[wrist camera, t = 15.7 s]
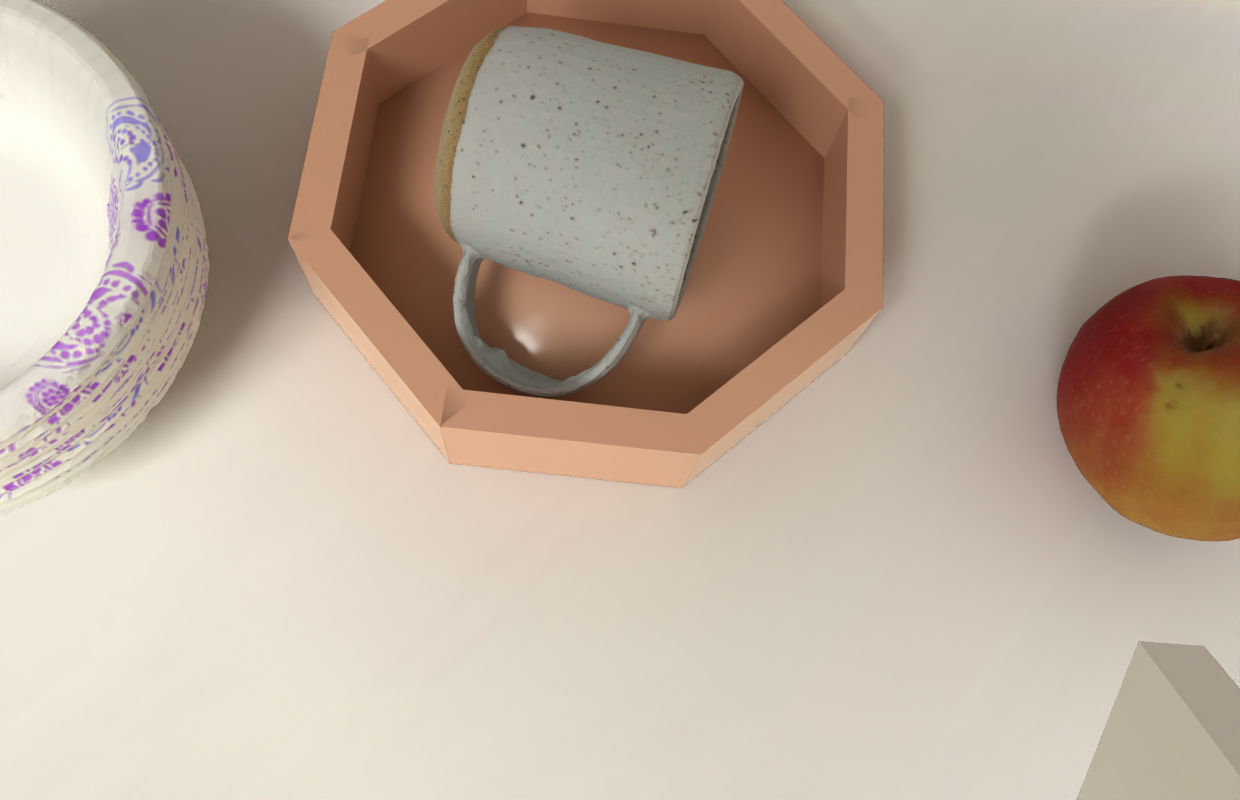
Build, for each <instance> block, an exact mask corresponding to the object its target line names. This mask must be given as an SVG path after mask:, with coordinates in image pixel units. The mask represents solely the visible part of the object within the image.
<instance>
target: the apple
mask: <svg viewBox="0 0 1240 800" xmlns="http://www.w3.org/2000/svg"><path fill="white" fill-rule="evenodd" d="M1057 412H1058V418H1059V423H1060V428H1061V432H1062V434H1063V437H1064V440H1065V443H1066V446H1067V448H1068V451H1069V452H1070V454H1071V456H1072V458H1073V460H1074V461H1075V463H1076V465H1077V467H1078V469H1079V470H1080V472H1081V473H1082V475H1083V476H1084V477H1085V478H1086V480H1087V481H1088V482H1089V483H1090V484H1091V485H1092V486H1093V487H1094V489H1095V490H1096V491H1097V492H1098V493H1099V494H1100V495H1101V497H1102V498H1103V499H1104V500H1105V501H1106V502H1107V503H1108V504H1109V505H1110V506H1111V507H1112V508H1113V509H1114V510H1116V511H1117V512H1118V513H1119V514H1121V515H1122V516H1124V517H1126V518H1127V519H1129V520H1131V521H1133V522H1135V523H1138V524H1140V525H1142V526H1144V527H1147V528H1149V529H1152V530H1154V531H1157V532H1160V533H1163V534H1166V535H1170V536H1174V537H1179V538H1185V539H1192V540H1200V541H1228V540H1233V539H1237V538H1240V281H1237V280H1232V279H1226V278H1215V277H1206V276H1170V277H1162V278H1157V279H1153V280H1150V281H1147V282H1144V283H1142V284H1139V285H1137V286H1134V287H1132V288H1130V289H1128V290H1126V291H1124V292H1122V293H1121V294H1119V295H1117V296H1116V297H1114V298H1113V299H1112V300H1110V301H1109V302H1108V303H1106V304H1105V305H1104V306H1103V307H1102V308H1100V309H1099V310H1098V311H1097V312H1096V313H1095V314H1094V315H1093V316H1091V317H1090V318H1089V319H1088V320H1087V321H1086V322H1085V323H1084V324H1083V325H1082V327H1081V328H1080V330H1079V331H1078V333H1077V335H1076V337H1075V339H1074V341H1073V343H1072V345H1071V347H1070V349H1069V351H1068V353H1067V356H1066V358H1065V361H1064V363H1063V366H1062V370H1061V373H1060V378H1059V383H1058V390H1057Z"/></svg>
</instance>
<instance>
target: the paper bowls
mask: <svg viewBox="0 0 1240 800" xmlns="http://www.w3.org/2000/svg"><path fill="white" fill-rule="evenodd" d="M206 235H207V233H206V228H205V224H204V219H203V214H202V209H201V206H200V201H199V199H198V197H197V194H196V191H195V188H194V185H193V183H192V180H191V178H190V176H189V174H188V172H187V170H186V168H185V166H184V164H183V162H182V161H181V159H180V158H179V156H178V155H177V153H176V151H175V149H174V147H173V145H172V143H171V141H170V139H169V137H168V135H167V133H166V131H165V129H164V127H163V125H162V124H161V122H160V120H159V118H158V117H157V116H156V114H155V113H154V111H153V109H152V107H151V105H150V103H149V101H148V99H147V97H146V95H145V92H144V90H143V89H142V88H141V87H140V85H139V84H138V82H137V81H136V79H135V78H134V76H133V75H132V74H131V73H130V72H129V71H128V70H127V69H126V68H125V67H124V65H123V63H122V62H121V61H120V60H119V59H118V58H117V57H116V56H115V55H114V54H112V52H111V51H110V50H109V49H108V48H107V47H106V46H105V45H104V44H103V43H102V42H101V41H100V40H98V39H97V38H96V37H95V36H94V35H93V34H92V33H90V32H89V31H87V30H86V29H85V28H84V27H82V26H81V25H79V24H78V23H76V22H75V21H73V20H72V19H70V18H68V17H66V16H65V15H63V14H61V13H59V12H58V11H56V10H54V9H52V8H51V7H49V6H47V5H45V4H43V3H41V2H39V1H37V0H0V515H4V514H6V513H9V512H11V511H13V510H14V509H17V508H20V507H22V506H24V505H26V504H29V503H31V502H33V501H35V500H38V499H40V498H43V497H45V496H48V495H50V494H51V493H53V492H55V491H57V490H59V489H61V488H62V487H64V486H65V485H67V484H68V483H70V482H71V481H72V480H74V479H75V478H77V477H79V476H80V475H81V474H82V473H83V472H84V471H86V470H87V469H89V468H90V467H91V466H93V465H94V464H95V463H97V462H98V461H99V460H101V459H102V458H104V457H105V456H106V455H108V454H109V453H110V452H111V451H113V450H114V449H115V448H117V447H118V446H119V445H120V444H121V443H123V442H124V441H125V440H126V439H127V438H128V437H129V436H130V435H131V434H132V432H133V431H134V430H135V429H136V428H137V427H138V425H139V424H141V423H142V422H143V421H144V420H145V419H146V417H147V416H148V415H147V414H148V412H149V411H150V410H151V408H153V407H154V406H156V405H157V404H158V403H159V402H160V401H161V399H162V398H163V397H164V395H165V394H166V392H167V391H168V389H169V387H170V386H171V384H172V383H173V382H174V380H175V377H176V375H177V373H178V372H179V370H180V369H181V368H182V366H183V364H184V362H185V360H186V358H187V356H188V353H189V351H190V349H191V347H192V345H193V342H194V339H195V337H196V334H197V332H198V330H199V327H200V322H201V316H202V312H203V309H204V305H205V301H206V292H207V289H208V273H209V258H208V253H209V247H208V244H207V241H206Z"/></svg>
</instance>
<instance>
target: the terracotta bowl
mask: <svg viewBox="0 0 1240 800" xmlns="http://www.w3.org/2000/svg"><path fill="white" fill-rule="evenodd" d="M503 26H519V27H535V28H548V29H553V30H558V31H562V32H566V33H570V34H574V35H579V36H582V37H585V38H589V39H592V40H595V41H599V42H603V43H608V44H612V45H617V46H622V47H626V48H631V49H636V50H641V51H645V52H649V53H653V54H658V55H662V56H666V57H670V58H674V59H678V60H682V61H686V62H690V63H694V64H699V65H703V66H708V67H713V68H718V69H723V70H728V71H732V72H734V73H735V74H737V75H739V76H740V77H741V78H742V80H743V83H744V85H743V89H742V95H741V100H740V103H739V107H738V113H737V116H736V120H735V125H734V127H733V132H732V137H731V141H730V144H729V147H728V151H727V156H726V161H725V164H724V167H723V170H722V173H721V176H720V180H719V184H718V187H717V191H716V194H715V197H714V200H713V203H712V207H711V210H710V214H709V218H708V221H707V223H706V227H705V232H704V235H703V237H702V239H701V243H700V246H699V249H698V253H697V256H696V259H695V262H694V265H693V268H692V271H691V273H690V275H689V278H688V281H687V284H686V289H685V293H684V295H683V297H682V300H681V303H680V305H679V308H678V311H677V312H676V314H675V316H674V318H673V319H672V320H669V321H664V320H659V319H655V318H652V317H649V318H648V319H647V320H646V321H645V322H644V324H643V326H642V328H641V331H640V333H639V335H638V336H637V338H636V339H635V341H634V342H633V344H632V345H631V347H630V348H629V350H628V352H627V353H626V354H625V356H624V357H623V358H622V360H621V361H620V362H619V364H618V365H617V366H616V367H615V368H614V369H613V370H612V371H611V372H610V373H609V374H607V375H606V376H605V377H604V378H602V379H601V380H600V381H598V382H597V383H595V384H593V385H592V386H590V387H588V388H586V389H584V390H582V391H579V392H577V393H575V394H572V395H567V396H563V397H557V398H539V397H534V396H529V395H525V394H522V393H520V392H517V391H515V390H512V389H510V388H507V387H505V386H504V385H502V384H501V383H499V382H498V381H496V380H494V379H492V378H490V377H489V376H488V375H487V374H485V373H484V372H482V371H481V370H480V369H479V367H478V366H477V365H476V364H475V363H474V361H473V360H472V359H471V357H470V356H469V355H468V353H467V352H466V350H465V348H464V345H463V343H462V341H461V339H460V337H459V334H458V332H457V329H456V325H455V320H454V307H453V295H454V288H455V277H456V275H457V271H458V267H459V263H460V261H461V259H462V257H463V251H462V247H461V245H459V244H458V243H457V242H455V241H454V240H453V239H451V238H450V237H449V235H448V234H447V233H446V231H445V230H444V228H443V226H442V223H441V221H440V219H439V217H438V214H437V211H436V205H435V197H434V175H435V166H436V158H437V153H438V148H439V142H440V136H441V130H442V125H443V121H444V118H445V115H446V111H447V108H448V104H449V101H450V98H451V95H452V92H453V89H454V86H455V83H456V80H457V78H458V75H459V73H460V71H461V69H462V67H463V65H464V62H465V61H466V59H467V57H468V56H469V54H470V52H471V51H472V49H473V48H474V46H475V45H476V44H478V43H479V42H480V41H481V40H482V39H483V38H484V37H485V36H486V35H487V34H488V33H490V32H491V31H493V30H495V29H498V28H500V27H503ZM288 240H289V243H290V245H291V247H292V249H293V251H294V253H295V255H296V257H297V260H298V262H299V264H300V266H301V268H302V270H303V272H304V275H305V277H306V279H307V281H308V283H309V285H310V287H311V289H312V292H313V294H314V295H315V297H316V298H317V299H318V300H319V301H320V303H321V304H322V305H323V306H324V308H325V309H326V310H327V311H328V313H329V314H330V315H331V316H332V318H333V319H334V320H335V321H336V323H337V324H338V325H339V326H340V328H341V329H342V330H343V331H344V333H345V334H346V335H347V336H348V337H349V339H350V340H351V341H352V342H353V344H354V345H355V346H356V347H357V349H358V350H359V351H360V352H361V354H362V355H363V356H364V357H365V359H366V360H367V361H368V362H369V364H370V365H371V366H372V367H373V369H374V370H375V371H376V372H377V373H378V375H379V376H380V377H381V378H382V380H383V381H384V382H385V383H386V385H387V386H388V387H389V388H390V390H391V391H392V392H393V393H394V395H395V396H396V397H397V398H398V400H399V401H400V402H401V403H402V404H403V406H404V407H405V408H406V409H407V411H408V412H409V413H410V414H411V416H412V417H413V418H414V419H415V421H416V422H417V423H418V424H419V426H420V427H421V428H422V429H423V431H424V432H425V433H426V434H427V436H428V437H429V438H430V439H431V440H432V442H433V443H434V444H435V445H436V447H437V448H438V449H439V450H440V452H441V453H442V454H443V455H444V457H445V458H446V459H447V460H448V462H449V463H450V464H460V465H469V466H479V467H488V468H497V469H507V470H516V471H526V472H535V473H544V474H554V475H563V476H573V477H582V478H592V479H601V480H610V481H620V482H629V483H639V484H648V485H657V486H667V487H676V488H683V487H684V486H685V485H687V484H688V483H689V482H690V481H691V480H693V479H694V478H695V477H696V476H698V475H699V474H700V473H701V472H703V471H704V470H705V469H706V468H707V467H709V466H710V465H711V464H712V463H714V462H715V461H716V460H717V459H718V458H720V457H721V456H722V455H723V454H725V453H726V452H727V451H728V450H729V449H731V448H732V447H733V446H734V445H736V444H737V443H738V442H739V441H741V440H742V439H743V438H744V437H745V436H747V435H748V434H749V433H750V432H752V431H753V430H754V429H755V428H756V427H758V426H759V425H760V424H761V423H763V422H764V421H765V420H766V419H767V418H769V417H770V416H771V415H772V414H774V413H775V412H776V411H777V410H779V409H780V408H781V407H782V406H783V405H785V404H786V403H787V402H788V401H790V400H791V399H792V398H793V397H794V396H796V395H797V394H798V393H799V392H801V391H802V390H803V389H804V388H805V387H807V386H808V385H809V384H810V383H812V382H813V381H814V380H815V379H817V378H818V377H819V376H820V375H821V374H823V373H824V372H825V371H826V370H828V369H829V368H830V367H831V366H832V365H834V364H835V363H836V362H837V361H839V360H840V359H841V358H842V357H843V356H845V355H846V354H847V352H848V351H849V350H850V349H851V347H852V346H853V345H854V343H855V342H856V341H857V340H858V338H859V337H860V336H861V335H862V333H863V332H864V331H865V329H866V328H867V327H868V326H869V324H870V323H871V322H872V321H873V319H874V318H875V317H876V315H877V314H878V313H879V312H880V310H881V309H882V308H883V100H882V99H881V98H880V97H879V96H878V95H877V94H876V93H875V92H874V91H873V90H872V89H871V88H870V87H869V86H868V85H867V84H866V83H865V82H863V81H862V80H861V79H860V78H859V77H858V76H857V75H856V74H855V73H854V72H853V71H852V70H851V69H850V68H849V67H848V66H847V65H846V64H845V63H844V62H843V61H842V60H841V59H840V58H839V57H838V56H837V55H836V54H835V53H834V52H833V51H832V50H831V49H830V48H829V47H828V46H827V45H826V44H825V43H824V42H823V41H822V40H821V39H820V38H819V37H818V36H817V35H816V34H815V33H814V32H813V31H812V30H811V29H810V28H809V27H808V26H807V25H806V24H805V23H804V22H803V21H802V20H801V19H800V18H799V17H798V16H797V15H796V14H795V13H794V12H793V11H792V10H791V9H790V8H789V7H788V6H787V5H786V4H785V3H784V2H783V1H782V0H386V1H385V2H383V3H381V4H380V5H378V6H376V7H374V8H373V9H371V10H369V11H368V12H366V13H364V14H363V15H361V16H359V17H357V18H356V19H354V20H352V21H351V22H349V23H347V24H346V25H344V26H342V27H340V28H339V29H337V30H335V31H334V32H333V33H332V37H331V42H330V46H329V51H328V56H327V60H326V65H325V70H324V74H323V79H322V83H321V88H320V93H319V97H318V102H317V106H316V111H315V116H314V120H313V125H312V129H311V134H310V139H309V143H308V148H307V152H306V157H305V162H304V166H303V171H302V176H301V180H300V185H299V189H298V194H297V199H296V203H295V208H294V212H293V217H292V222H291V226H290V231H289V235H288ZM474 304H475V307H474V320H475V322H476V325H477V328H478V331H479V334H480V338H481V339H482V340H483V341H484V342H485V343H486V344H487V345H488V346H489V347H496V348H499V349H503V350H504V351H505V353H506V355H507V356H508V358H510V359H512V360H513V361H515V362H517V363H518V364H520V365H522V366H524V367H526V368H528V369H530V370H533V371H535V372H538V373H540V374H543V375H545V376H548V377H550V378H552V379H555V380H560V381H564V380H566V379H568V378H569V377H571V376H577V375H579V374H580V373H582V372H583V371H585V370H587V369H590V368H592V367H593V366H594V365H595V364H597V363H598V362H599V361H600V360H601V359H602V358H603V357H604V356H605V355H606V353H607V352H608V351H609V350H610V349H611V347H612V346H613V345H614V344H615V343H616V341H617V340H618V338H619V337H620V336H621V335H622V333H623V331H624V330H625V328H626V326H627V324H628V322H629V319H630V312H629V310H628V309H625V308H623V307H621V306H617V305H615V304H612V303H608V302H606V301H603V300H600V299H598V298H594V297H591V296H588V295H585V294H583V293H580V292H579V291H576V290H573V289H571V288H568V287H566V286H564V285H561V284H559V283H556V282H553V281H551V280H548V279H545V278H542V277H540V278H536V277H534V276H531V275H529V274H526V273H524V272H521V271H518V270H515V269H512V268H507V267H506V266H504V265H502V264H499V263H496V262H494V261H492V260H489V259H484V260H483V261H482V263H481V264H480V268H479V271H478V275H477V279H476V287H475V294H474Z"/></svg>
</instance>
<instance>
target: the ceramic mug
mask: <svg viewBox="0 0 1240 800" xmlns="http://www.w3.org/2000/svg"><path fill="white" fill-rule="evenodd" d="M743 85H744V83H743V80H742V78H741V77H740V76H739V75H737V74H735V73H734V72H732V71H728V70H723V69H718V68H713V67H708V66H703V65H699V64H694V63H690V62H686V61H682V60H678V59H674V58H670V57H666V56H662V55H658V54H653V53H649V52H645V51H641V50H636V49H631V48H626V47H622V46H617V45H612V44H608V43H603V42H599V41H595V40H592V39H589V38H585V37H582V36H579V35H574V34H570V33H566V32H562V31H558V30H553V29H548V28H535V27H519V26H503V27H500V28H498V29H495V30H493V31H491V32H490V33H488V34H487V35H486V36H485V37H484V38H483V39H482V40H481V41H480V42H479V43H478V44H476V45H475V46H474V48H473V49H472V51H471V52H470V54H469V56H468V57H467V59H466V61H465V62H464V65H463V67H462V69H461V71H460V73H459V75H458V78H457V80H456V83H455V86H454V89H453V92H452V95H451V98H450V101H449V104H448V108H447V111H446V115H445V118H444V121H443V125H442V130H441V136H440V142H439V148H438V153H437V158H436V166H435V175H434V197H435V205H436V211H437V214H438V217H439V219H440V221H441V223H442V226H443V228H444V230H445V231H446V233H447V234H448V235H449V237H450V238H451V239H453V240H454V241H455V242H457V243H458V244H459V245H461V247H462V251H463V257H462V259H461V261H460V263H459V267H458V271H457V275H456V277H455V288H454V295H453V307H454V320H455V325H456V329H457V332H458V334H459V337H460V339H461V341H462V343H463V345H464V348H465V350H466V352H467V353H468V355H469V356H470V357H471V359H472V360H473V361H474V363H475V364H476V365H477V366H478V367H479V369H480V370H481V371H482V372H484V373H485V374H487V375H488V376H489V377H490V378H492V379H494V380H496V381H498V382H499V383H501V384H502V385H504V386H505V387H507V388H510V389H512V390H515V391H517V392H520V393H522V394H525V395H529V396H534V397H539V398H557V397H563V396H567V395H572V394H575V393H577V392H579V391H582V390H584V389H586V388H588V387H590V386H592V385H593V384H595V383H597V382H598V381H600V380H601V379H602V378H604V377H605V376H606V375H607V374H609V373H610V372H611V371H612V370H613V369H614V368H615V367H616V366H617V365H618V364H619V362H620V361H621V360H622V358H623V357H624V356H625V354H626V353H627V352H628V350H629V348H630V347H631V345H632V344H633V342H634V341H635V339H636V338H637V336H638V335H639V333H640V331H641V328H642V326H643V324H644V322H645V321H646V320H647V319H648V318H649V317H652V318H655V319H659V320H664V321H669V320H672V319H673V318H674V316H675V314H676V312H677V311H678V308H679V305H680V303H681V300H682V297H683V295H684V293H685V289H686V284H687V281H688V278H689V275H690V273H691V271H692V268H693V265H694V262H695V259H696V256H697V253H698V249H699V246H700V243H701V239H702V237H703V235H704V232H705V227H706V223H707V221H708V218H709V214H710V210H711V207H712V203H713V200H714V197H715V194H716V191H717V187H718V184H719V180H720V176H721V173H722V170H723V167H724V164H725V161H726V156H727V151H728V147H729V144H730V141H731V137H732V132H733V127H734V125H735V120H736V116H737V113H738V107H739V103H740V100H741V95H742V89H743ZM484 259H489V260H492V261H494V262H496V263H499V264H502V265H504V266H506V267H507V268H512V269H515V270H518V271H521V272H524V273H526V274H529V275H531V276H534V277H536V278H540V277H542V278H545V279H548V280H551V281H553V282H556V283H559V284H561V285H564V286H566V287H568V288H571V289H573V290H576V291H579V292H580V293H583V294H585V295H588V296H591V297H594V298H598V299H600V300H603V301H606V302H608V303H612V304H615V305H617V306H621V307H623V308H625V309H628V310H629V312H630V319H629V322H628V324H627V326H626V328H625V330H624V331H623V333H622V335H621V336H620V337H619V338H618V340H617V341H616V343H615V344H614V345H613V346H612V347H611V349H610V350H609V351H608V352H607V353H606V355H605V356H604V357H603V358H602V359H601V360H600V361H599V362H598V363H597V364H595V365H594V366H593V367H592V368H590V369H587V370H585V371H583V372H582V373H580V374H579V375H577V376H571V377H569V378H568V379H566V380H564V381H560V380H555V379H552V378H550V377H548V376H545V375H543V374H540V373H538V372H535V371H533V370H530V369H528V368H526V367H524V366H522V365H520V364H518V363H517V362H515V361H513V360H512V359H510V358H508V356H507V355H506V353H505V351H504V350H503V349H499V348H496V347H489V346H488V345H487V344H486V343H485V342H484V341H483V340H482V339H481V338H480V334H479V331H478V328H477V325H476V322H475V320H474V307H475V304H474V294H475V287H476V279H477V275H478V271H479V268H480V264H481V263H482V261H483V260H484Z"/></svg>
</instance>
